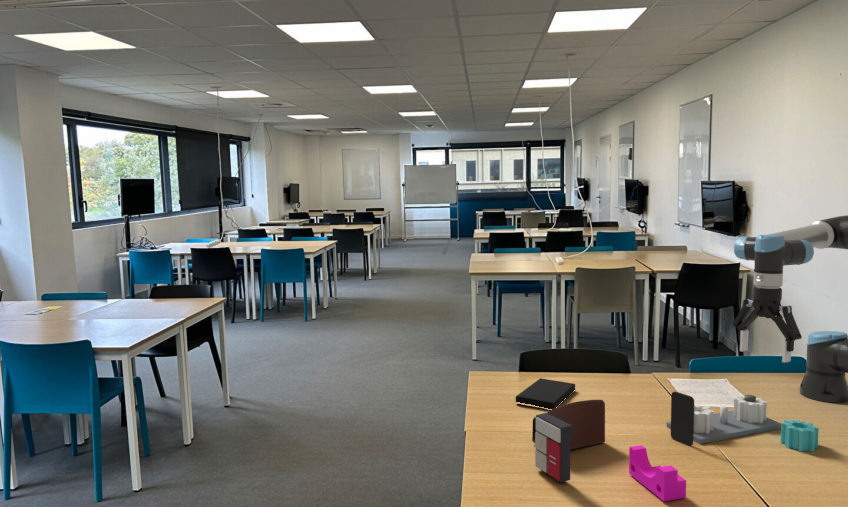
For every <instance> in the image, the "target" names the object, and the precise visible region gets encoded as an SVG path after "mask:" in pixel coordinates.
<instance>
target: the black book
mask: <svg viewBox="0 0 848 507" xmlns="http://www.w3.org/2000/svg"><path fill="white" fill-rule="evenodd" d="M574 390H575V391H576V384H575V383H570V382H567V381H566V382H565V381H559V380H552V379H545V378H542V377H541V378H538V379H537V380H536V381H535V382H533V383H532V384H531V385H529V386H528V387H527V388H525V389H524V390H522V391H521V392H520V393H518V394H517V395H516V396H515V403H516V402H520V403H525V404H531V405H535V406H539V407H544V408H548V409H554V408H556V407H557V406H558V405H559V404H560V403H561V402H562V401H564V399H565V398H567V397H568V396H569V395H570V394H571V393H572V392H573V391H574ZM572 394H573V393H572ZM572 394H571V395H572ZM571 395H570V396H571ZM570 396H569V397H570ZM569 397H568V398H569ZM568 398H567V399H568ZM564 402H565V401H564ZM560 405H561V404H560ZM560 405H559V406H560ZM559 406H558V407H559Z"/></svg>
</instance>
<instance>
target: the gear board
mask: <svg viewBox="0 0 848 507" xmlns="http://www.w3.org/2000/svg"><path fill="white" fill-rule="evenodd" d="M767 402H768V401H767V400H766V401H764V400H763V398H761V397H756V396H755V395H752V394H745V395H739V394H738V395H737V397H733V409H732V410H729V408H728V406H720V407H719V412H717V413H715V411H714V410H711V407H709V406H704V405H700V404H698V403H696V404H694V435H693V442H695V443H697V444H698V445H702V444H707V443H712V442H718V441H722V440H728V439H733V438H738V437H743V436H748V435H753V434H754V435H755V434H757V433H758V434H759V433H764V432H767V431H773V430H778V429H781V422H779V421H776V420H774V419H771V418H769V417H767V408H768V405H767V404H768V403H767ZM666 427H667V428H668V429H670V430H671V421H666Z"/></svg>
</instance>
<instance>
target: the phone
mask: <svg viewBox="0 0 848 507" xmlns="http://www.w3.org/2000/svg"><path fill="white" fill-rule="evenodd" d="M670 397H671V399H670V400H671V403H670V404H671V405H670V422H671V429H670V437H671V439H672V440H674V441H677V442H679V443H682V444H684V445H686V446H689V447H690V446H693V445H694V441H693V435H694V405H695V399H694V397H693V396H691V395H688V394H685V393H682V392H679V391H672V392H671V396H670Z"/></svg>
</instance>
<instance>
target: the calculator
mask: <svg viewBox="0 0 848 507" xmlns="http://www.w3.org/2000/svg"><path fill="white" fill-rule="evenodd" d="M535 417H536V432H535V443H534V447H535V450H534V452H535V453H534V458H535V459H534V461H535V462H534V463H535V464H534V465H535V467H536V468H537V469H539V470H541V471H542V472H544V473H546V474H547V475H548V476H550V477H552V478H554V479H555V480H557V481H558V482H559V483H564V482H567V481H570V480H571V450H570V443H571V441H572V426H571V425H570V424H568V423H566V422H564V421H562V420H560V419H558V418H556V417H554V416H552V415H550V414H548V413H547V412H544V413H540V414H539V413H538V414H536V415H535Z"/></svg>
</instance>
